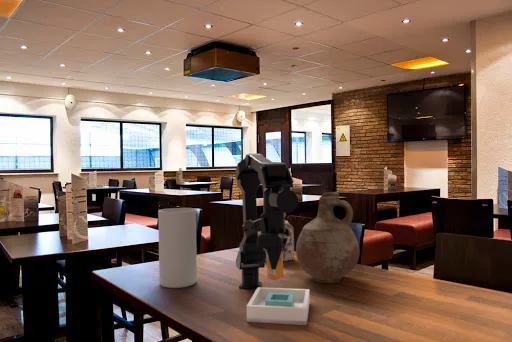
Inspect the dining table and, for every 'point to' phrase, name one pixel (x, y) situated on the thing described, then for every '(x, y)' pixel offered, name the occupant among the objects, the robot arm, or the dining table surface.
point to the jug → (328, 242)
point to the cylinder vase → (177, 247)
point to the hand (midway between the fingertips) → (274, 267)
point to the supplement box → (277, 272)
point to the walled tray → (279, 306)
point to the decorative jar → (289, 247)
